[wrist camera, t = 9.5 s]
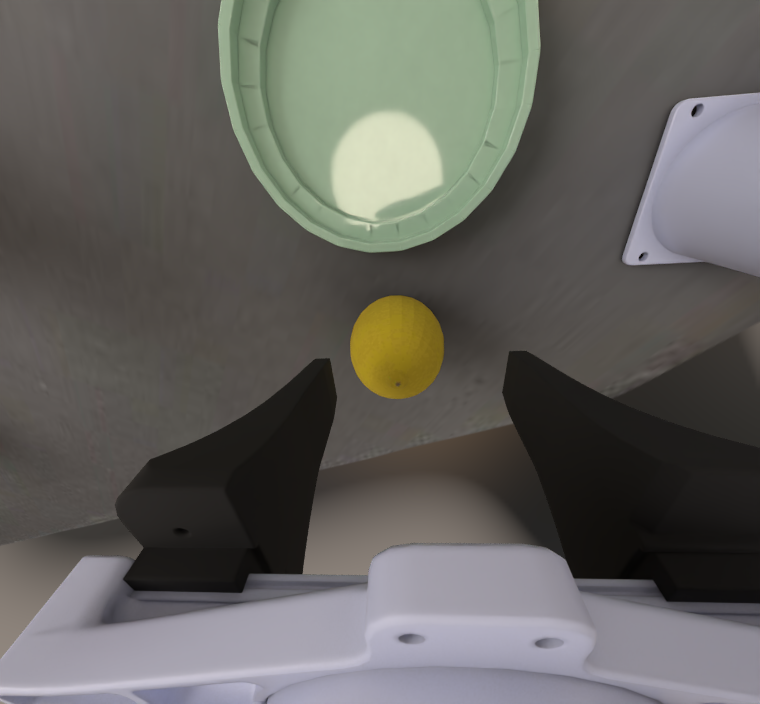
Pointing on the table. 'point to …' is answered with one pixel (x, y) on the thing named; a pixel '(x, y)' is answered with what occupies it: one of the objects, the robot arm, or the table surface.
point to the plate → (379, 108)
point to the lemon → (397, 347)
